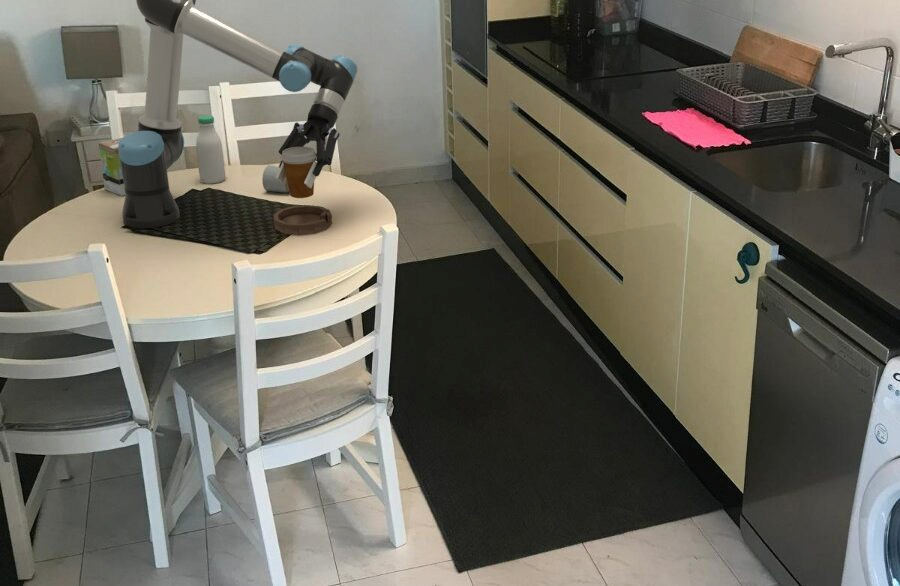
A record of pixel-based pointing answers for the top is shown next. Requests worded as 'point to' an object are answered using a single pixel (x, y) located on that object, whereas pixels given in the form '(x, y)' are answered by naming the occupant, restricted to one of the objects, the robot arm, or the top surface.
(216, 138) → the milk bottle
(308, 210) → the round brown ashtray
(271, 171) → the ceramic mug
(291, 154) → the disposable coffee cup
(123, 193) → the tea box
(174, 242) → the top surface
